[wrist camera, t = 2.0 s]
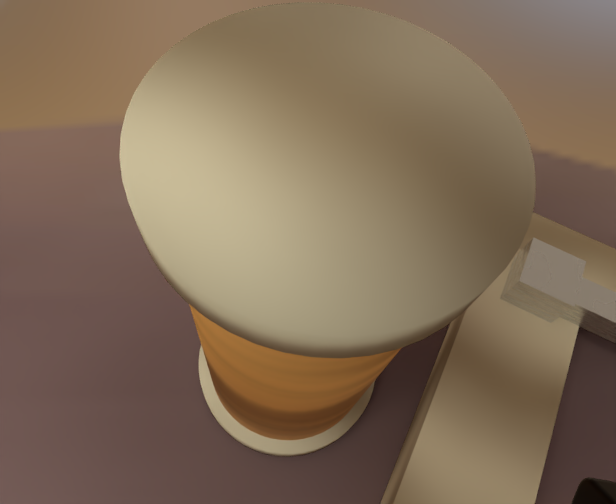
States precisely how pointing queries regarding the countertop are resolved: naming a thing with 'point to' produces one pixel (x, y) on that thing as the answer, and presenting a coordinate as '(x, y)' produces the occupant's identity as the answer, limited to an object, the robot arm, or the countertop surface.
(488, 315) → the rectangular frame
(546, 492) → the countertop surface
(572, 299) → the cross bar
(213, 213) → the cord reel
